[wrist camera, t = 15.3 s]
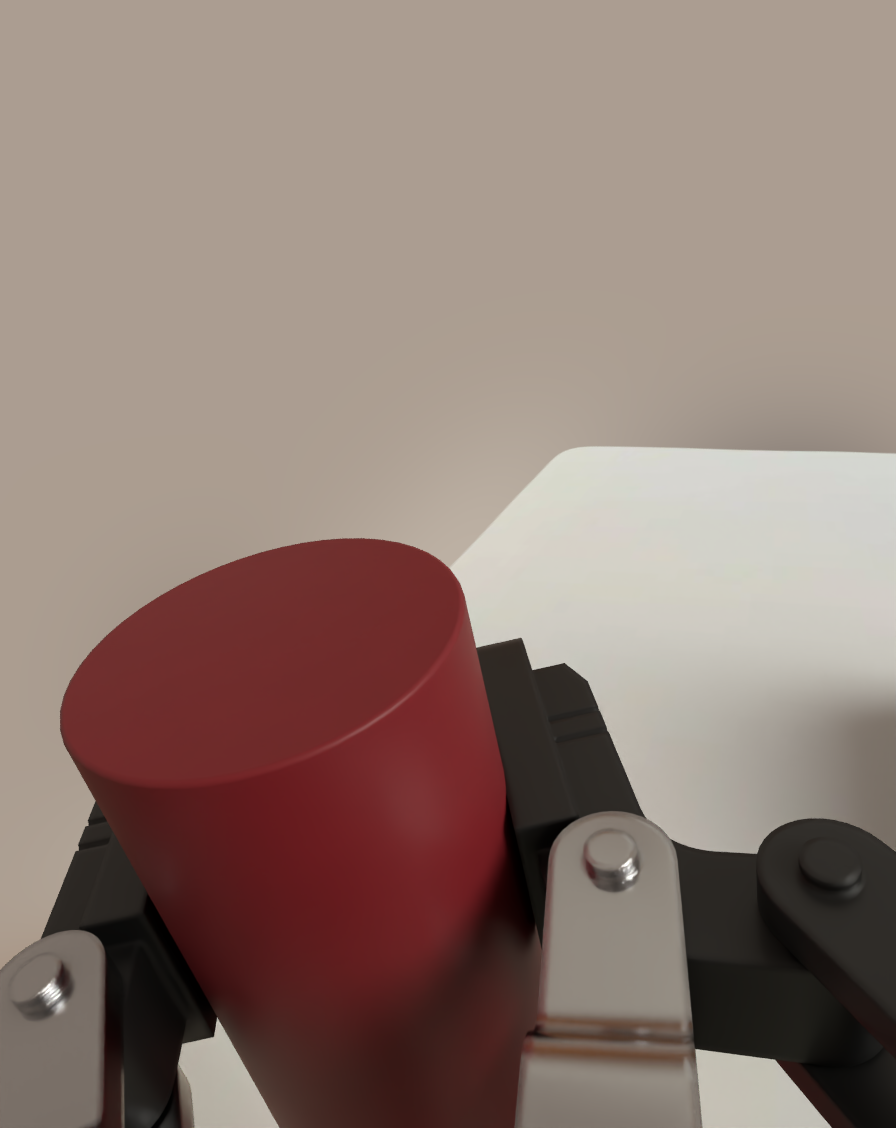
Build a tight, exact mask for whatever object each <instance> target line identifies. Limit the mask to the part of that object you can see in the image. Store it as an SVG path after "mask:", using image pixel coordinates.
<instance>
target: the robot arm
mask: <svg viewBox="0 0 896 1128" xmlns="http://www.w3.org/2000/svg"><path fill="white" fill-rule="evenodd" d="M476 650H477V654H478V658H479V663H480V667H481V672H482V676H483V681H484V685H485V690H486V694H487V698H488V703H489V707H490V712H491V716H492V721H493V725H494V729H495V734H496V738H497V743H498V747H499V752H500V756H501V761H502V765H503V769H504V776H505V783H506V794H507V799H508V803H509V808H510V812H511V817H512V821H513V826H514V830H515V835H516V839H517V843H518V848H519V852H520V857H521V861H522V865H523V870H524V874H525V879H526V883H527V887H528V892H529V896H530V901H531V905H532V909H533V914H534V918H535V923H536V927H537V931H538V936H539V940H540V945H541V949H542V956H541V969H540V983H539V997H538V1010H537V1019H536V1025H535V1028H534V1030H533V1031H531V1030H529V1031H528V1032H527V1034H526V1036H525V1039H524V1043H523V1048H522V1054H521V1061H520V1071H519V1082H518V1094H517V1105H516V1117H515V1128H702V1118H701V1107H700V1096H699V1085H698V1074H697V1064H696V1053H695V1049H700V1050H707V1051H715V1052H722V1053H730V1054H737V1055H745V1056H752V1057H760V1058H768V1059H775V1060H776V1061H777V1063H778V1064H779V1065H780V1066H781V1067H782V1069H783V1070H784V1071H785V1072H786V1073H787V1074H788V1076H789V1077H790V1078H791V1079H792V1080H793V1082H794V1083H795V1084H796V1085H797V1086H798V1088H799V1089H800V1090H801V1091H802V1092H803V1094H804V1095H805V1096H806V1097H807V1098H808V1100H809V1101H810V1102H811V1103H812V1104H813V1106H814V1107H815V1108H816V1109H817V1110H818V1112H819V1113H820V1114H821V1115H822V1116H823V1118H824V1119H825V1120H826V1121H827V1122H828V1124H829V1125H830V1126H831V1127H832V1128H896V852H895V851H894V850H892V849H891V848H890V847H888V846H887V845H886V844H885V843H883V842H882V841H881V840H879V839H878V838H876V837H875V836H873V835H872V834H870V833H868V832H866V831H864V830H863V829H861V828H859V827H856V826H853V825H850V824H848V823H844V822H840V821H836V820H830V819H802V820H797V821H793V822H789V823H787V824H784V825H782V826H780V827H778V828H777V829H775V830H774V831H772V832H771V833H770V834H769V835H768V836H767V837H766V838H765V839H764V840H763V842H762V844H761V845H760V847H759V850H758V853H757V854H747V853H730V852H714V851H705V850H699V849H695V848H691V847H688V846H685V845H682V844H680V843H677V842H675V841H673V840H671V839H670V838H669V837H668V836H667V834H666V833H665V832H664V831H663V830H662V829H661V828H660V827H659V826H657V825H656V824H654V823H653V822H651V821H650V820H648V819H646V817H645V816H644V814H643V812H642V810H641V808H640V806H639V804H638V801H637V799H636V797H635V794H634V792H633V789H632V787H631V785H630V782H629V780H628V777H627V775H626V773H625V770H624V768H623V765H622V763H621V761H620V758H619V756H618V753H617V751H616V749H615V746H614V744H613V741H612V739H611V737H610V734H609V732H608V731H607V728H606V725H605V722H604V720H603V717H602V715H601V713H600V711H599V709H598V705H597V703H596V701H595V698H594V696H593V693H592V691H591V689H590V686H589V684H588V681H586V680H585V679H584V678H583V677H581V676H580V675H579V674H578V673H576V672H575V671H574V670H573V669H571V668H570V667H569V666H567V665H566V664H565V663H563V664H559V665H554V666H550V667H545V668H541V669H536V670H532V668H531V665H530V662H529V659H528V656H527V653H526V649H525V646H524V643H523V640H522V638H518V639H514V640H509V641H505V642H500V643H496V644H491V645H487V646H482V647H478V648H476ZM88 823H89V826H86V827H85V829H84V832H83V834H82V837H81V839H80V842H79V845H78V846H79V851H76V852H75V854H74V857H73V860H72V862H71V864H70V867H69V869H68V872H67V874H66V877H65V879H64V882H63V885H62V887H61V890H60V892H59V894H58V897H57V899H56V902H55V905H54V907H53V910H52V912H51V915H50V917H49V920H48V922H47V925H46V927H45V930H44V932H43V935H42V937H41V939H40V940H39V941H37V942H35V943H33V944H31V945H30V946H28V947H26V948H25V949H24V950H22V951H21V952H20V953H18V954H17V955H16V956H14V957H13V958H12V959H11V960H10V961H9V962H8V963H7V964H5V966H4V967H3V968H2V969H1V970H0V1128H194V1117H193V1105H192V1093H191V1088H190V1084H189V1082H188V1079H187V1077H186V1076H185V1074H184V1073H183V1071H182V1069H181V1068H180V1066H179V1065H178V1062H179V1057H180V1052H181V1047H182V1044H183V1043H188V1042H193V1041H197V1040H202V1039H206V1038H211V1037H214V1033H215V1027H216V1021H217V1016H216V1014H215V1012H214V1010H213V1008H212V1007H211V1005H210V1003H209V1001H208V1000H207V998H206V996H205V994H204V992H203V991H202V989H201V987H200V985H199V984H198V982H197V980H196V978H195V976H194V975H193V973H192V971H191V969H190V968H189V966H188V964H187V962H186V960H185V959H184V957H183V955H182V953H181V951H180V950H179V948H178V946H177V944H176V943H175V941H174V939H173V937H172V935H171V934H170V932H169V930H168V928H167V927H166V925H165V923H164V921H163V919H162V918H161V916H160V914H159V912H158V911H157V909H156V907H155V905H154V903H153V902H152V900H151V898H150V896H149V895H148V893H147V891H146V889H145V887H144V886H143V884H142V882H141V880H140V879H139V877H138V875H137V873H136V871H135V870H134V868H133V866H132V864H131V863H130V861H129V859H128V857H127V855H126V854H125V852H124V850H123V848H122V847H121V845H120V843H119V841H118V839H117V838H116V836H115V834H114V832H113V831H112V829H111V827H110V825H109V823H108V822H107V820H106V818H105V816H104V815H103V813H102V811H101V809H100V807H99V806H98V804H97V802H95V804H94V807H93V809H92V812H91V814H90V817H89V819H88Z"/></svg>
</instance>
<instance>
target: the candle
mask: <svg viewBox="0 0 896 1128" xmlns="http://www.w3.org/2000/svg"><path fill="white" fill-rule="evenodd" d="M60 731H61V735H62V738H63V742H64V745H65V747H66V749H67V751H68V752H69V754H70V756H71V758H72V759H73V761H74V763H75V765H76V766H77V768H78V770H79V772H80V774H81V775H82V777H83V779H84V781H85V782H86V784H87V786H88V788H89V790H90V791H91V793H92V795H93V797H94V799H95V800H96V802H97V804H98V806H99V807H100V809H101V811H102V813H103V815H104V816H105V818H106V820H107V822H108V823H109V825H110V827H111V829H112V831H113V832H114V834H115V836H116V838H117V839H118V841H119V843H120V845H121V847H122V848H123V850H124V852H125V854H126V855H127V857H128V859H129V861H130V863H131V864H132V866H133V868H134V870H135V871H136V873H137V875H138V877H139V879H140V880H141V882H142V884H143V886H144V887H145V889H146V891H147V893H148V895H149V896H150V898H151V900H152V902H153V903H154V905H155V907H156V909H157V911H158V912H159V914H160V916H161V918H162V919H163V921H164V923H165V925H166V927H167V928H168V930H169V932H170V934H171V935H172V937H173V939H174V941H175V943H176V944H177V946H178V948H179V950H180V951H181V953H182V955H183V957H184V959H185V960H186V962H187V964H188V966H189V968H190V969H191V971H192V973H193V975H194V976H195V978H196V980H197V982H198V984H199V985H200V987H201V989H202V991H203V992H204V994H205V996H206V998H207V1000H208V1001H209V1003H210V1005H211V1007H212V1008H213V1010H214V1012H215V1014H216V1016H217V1017H218V1019H219V1021H220V1023H221V1024H222V1026H223V1028H224V1030H225V1032H226V1033H227V1035H228V1037H229V1039H230V1040H231V1042H232V1044H233V1046H234V1048H235V1049H236V1051H237V1053H238V1055H239V1056H240V1058H241V1060H242V1062H243V1064H244V1065H245V1067H246V1069H247V1071H248V1072H249V1074H250V1076H251V1078H252V1080H253V1081H254V1083H255V1085H256V1087H257V1088H258V1090H259V1092H260V1094H261V1096H262V1097H263V1099H264V1101H265V1103H266V1104H267V1106H268V1108H269V1110H270V1112H271V1113H272V1115H273V1117H274V1119H275V1120H276V1122H277V1124H278V1126H279V1128H515V1117H516V1105H517V1094H518V1082H519V1071H520V1061H521V1054H522V1048H523V1043H524V1039H525V1036H526V1034H527V1032H528V1031H529V1030H531V1031H533V1030H534V1028H535V1025H536V1019H537V1010H538V997H539V983H540V969H541V956H542V949H541V945H540V940H539V936H538V931H537V927H536V923H535V918H534V914H533V909H532V905H531V901H530V896H529V892H528V887H527V883H526V879H525V874H524V870H523V865H522V861H521V857H520V852H519V848H518V843H517V839H516V835H515V830H514V826H513V821H512V817H511V812H510V808H509V803H508V799H507V794H506V783H505V776H504V769H503V765H502V761H501V756H500V752H499V747H498V743H497V738H496V734H495V729H494V725H493V721H492V716H491V712H490V707H489V703H488V698H487V694H486V690H485V685H484V681H483V676H482V672H481V667H480V663H479V658H478V654H477V650H476V645H475V641H474V636H473V632H472V627H471V623H470V618H469V614H468V610H467V605H466V601H465V596H464V593H463V590H462V588H461V585H460V583H459V581H458V580H457V578H456V577H455V575H454V574H453V572H452V571H451V570H450V569H449V568H448V567H447V566H446V565H445V564H444V563H442V562H441V561H440V560H439V559H437V558H436V557H434V556H432V555H431V554H429V553H427V552H425V551H423V550H420V549H418V548H415V547H413V546H409V545H405V544H402V543H398V542H391V541H385V540H378V539H364V538H363V539H362V538H360V539H359V538H356V539H355V538H354V539H331V540H321V541H314V542H307V543H300V544H295V545H291V546H285V547H281V548H277V549H273V550H269V551H265V552H261V553H258V554H255V555H252V556H248V557H245V558H242V559H239V560H236V561H234V562H231V563H228V564H226V565H223V566H220V567H218V568H215V569H213V570H211V571H208V572H206V573H204V574H201V575H199V576H197V577H195V578H193V579H191V580H189V581H187V582H185V583H183V584H181V585H179V586H177V587H175V588H173V589H172V590H170V591H168V592H166V593H165V594H163V595H161V596H159V597H158V598H156V599H155V600H153V601H151V602H150V603H148V604H147V605H145V606H144V607H142V608H141V609H139V610H138V611H137V612H135V613H134V614H133V615H131V616H130V617H129V618H127V619H126V620H124V621H123V622H122V623H121V624H119V625H118V626H117V627H116V628H115V629H114V630H112V631H111V632H110V633H109V634H108V635H107V636H106V637H105V638H104V639H103V640H102V641H101V642H100V643H99V644H98V645H97V646H96V647H95V648H94V649H93V650H92V652H90V654H89V655H88V656H87V657H86V659H85V660H84V661H83V662H82V664H81V665H80V666H79V668H78V669H77V671H76V673H75V674H74V676H73V678H72V679H71V681H70V683H69V686H68V688H67V690H66V692H65V694H64V698H63V702H62V706H61V710H60Z"/></svg>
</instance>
